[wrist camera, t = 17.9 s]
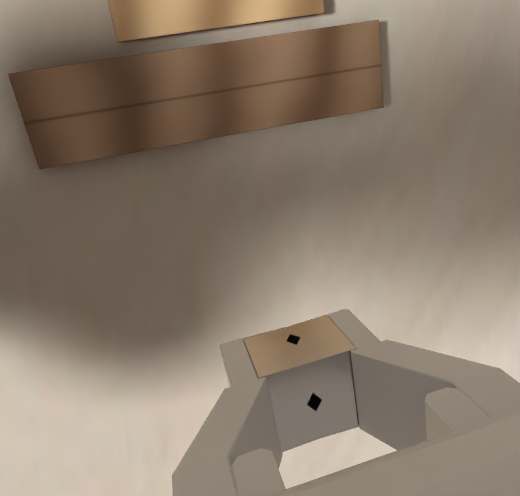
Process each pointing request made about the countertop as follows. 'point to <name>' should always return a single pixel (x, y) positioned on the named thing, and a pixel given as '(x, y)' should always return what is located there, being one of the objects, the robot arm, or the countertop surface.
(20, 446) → the countertop surface
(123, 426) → the countertop surface
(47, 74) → the walnut floorboard
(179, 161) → the countertop surface
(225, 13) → the oak plank
